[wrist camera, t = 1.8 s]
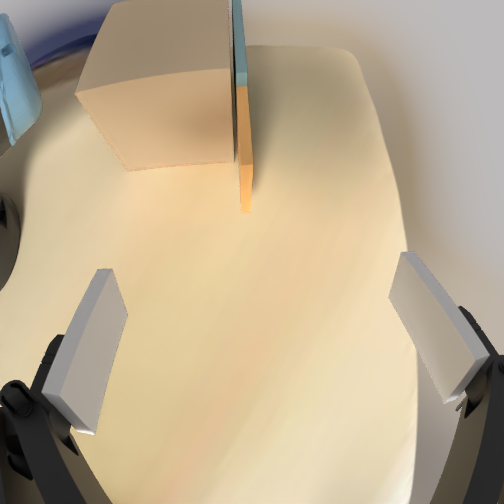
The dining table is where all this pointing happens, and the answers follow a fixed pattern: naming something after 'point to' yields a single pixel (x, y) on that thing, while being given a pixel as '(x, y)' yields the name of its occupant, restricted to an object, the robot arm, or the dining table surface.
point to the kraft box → (162, 83)
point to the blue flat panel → (242, 108)
